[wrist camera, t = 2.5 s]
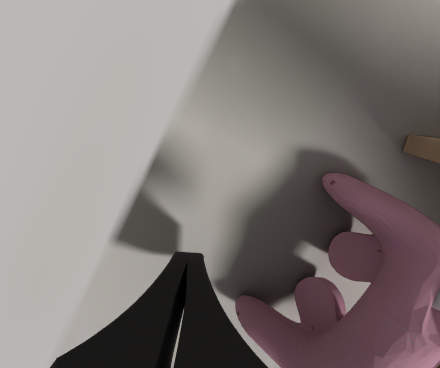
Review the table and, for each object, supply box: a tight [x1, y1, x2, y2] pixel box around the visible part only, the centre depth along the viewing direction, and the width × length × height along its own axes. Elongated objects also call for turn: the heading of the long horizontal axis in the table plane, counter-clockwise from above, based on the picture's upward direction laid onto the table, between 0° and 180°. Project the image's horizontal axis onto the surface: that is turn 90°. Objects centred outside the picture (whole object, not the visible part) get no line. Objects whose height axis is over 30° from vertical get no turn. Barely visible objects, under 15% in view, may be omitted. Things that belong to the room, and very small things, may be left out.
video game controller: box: [235, 173, 440, 368], centre depth 12 cm, size 10×5×7 cm, turn 152°
